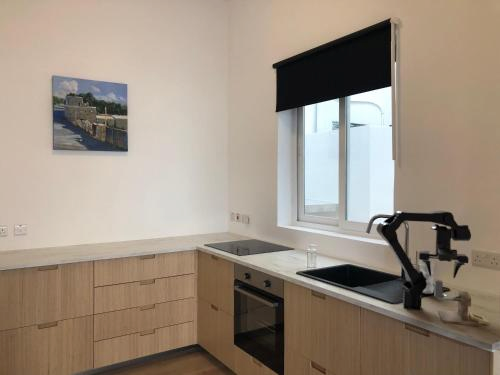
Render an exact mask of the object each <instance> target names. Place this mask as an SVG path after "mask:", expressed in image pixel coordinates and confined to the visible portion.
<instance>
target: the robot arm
mask: <svg viewBox="0 0 500 375" xmlns="http://www.w3.org/2000/svg"><path fill="white" fill-rule="evenodd" d="M404 222H423V223H424V222H426V223H433V224H434V225H432V226H431V227H430V229H431V230H433V231H435V232H436V233H435V252H434V253H431V254H429V252H425V251H426V250H420V251H419V252H418V256H417V258H418V260H419V261H420V260H422V261H423V262H425V263H426V265H427V269H428V272H429V275H430V276H431V267H430V260H429V259H430V258H432V259H433V260H434V259H435V260H436V259H437V260H438V261H439V262H452V261H454V267H453V274H452V275H453V276H452V278H453V279H455V278H456V276H457V275H458V271H459V269H460V268H461V266H464V265H465V264H469V261H470V260H469V257H468V256H467V255H466V253H465V254H464V253H458V250H457V249H452V248H451V245H452V244H451V243H452V242H451V241H453V242H469V241H470V240H471V238H472V233H471V230H470V228H469V225H468V224H461V225H460V224H458V223H457V221H456V220H455V217H454V214H453V213H452V212H451V211H445V210H435V211H434V210H433V211H429V212H417V211H416V212H415V211H400V210H397V211H395V212H394V213H393V214H392V215H391V216H389V217H388V218H385V220H384V221H382V222H379V223H378V224H377V226H376V232H377V234H378V235H379V236H380V237H381V238H382V240H384V241H385V242H386V243H387V244H388V246H389V248H390V250H391V251H392V252H393V254H394V256H395V258H396V259H397V261H398V264H400V266H401V268H402V269H403V271H404V275H405V281H404V282H403V283H402V284H401V288H402V290H403V303H402V306H403V309H407V310H408V309H409V310H417V311H420V310H421V308H422V295H423V294H424V293H423V291H424V289H425V288H426V286H427V282H426V280H427V279H426V278H425V277H424V275H423V273H422V271H420V269H418V268H415V266H414V265H413V263H412V261H411V260H410V258H409V257H408V255H407V254H406V252H405V250H404V248H403V247H402V244H401V243H400V241H399V238H398V233H397V230H398V229H399V228H400V227H401V225H403V223H404Z"/></svg>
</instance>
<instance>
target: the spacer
mask: <svg viewBox="0 0 500 375" xmlns="http://www.w3.org/2000/svg"><path fill="white" fill-rule="evenodd" d="M468 316H469V317H470V319H472V320H475V321H478V322H479V323H480V324H484V325H488V324H489V321H488V320H487V319H486V316H483V315H481V314H480V315H479V314H476V313H473V312H471V311H468Z"/></svg>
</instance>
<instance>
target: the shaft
mask: <svg viewBox="0 0 500 375" xmlns="http://www.w3.org/2000/svg"><path fill="white" fill-rule="evenodd" d="M433 286H434V291H433V293H434V294H433V295H434V298H436V299H437V300H439V301H441V300H442V301H450V302H452V301H453V302H458V301H459V302H461V296H459V295H448V294H443V287H444V286H443V280H442V279H436V278H435V279H434V285H433Z"/></svg>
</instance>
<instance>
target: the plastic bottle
mask: <svg viewBox="0 0 500 375" xmlns="http://www.w3.org/2000/svg"><path fill="white" fill-rule="evenodd" d="M424 251H425V252H429V254H433V253H432V251H429V250H424ZM429 260H430V267H431V276H430V275H429V272H428V269H427V265H426V263H425V262H423V261H422V260H420V259H419V262H418V264H419V270H420V271H422V273H423V275H424V277H425V278H426V279H427V280H426V282H427V286H426V288H425V289H424V291H423V293H422V294H425V295H431V294H433V293H434V286H435V285H434V277H433V276H434V275H433V274H434V269H435V261H434V259H433V258H430V259H429Z"/></svg>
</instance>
